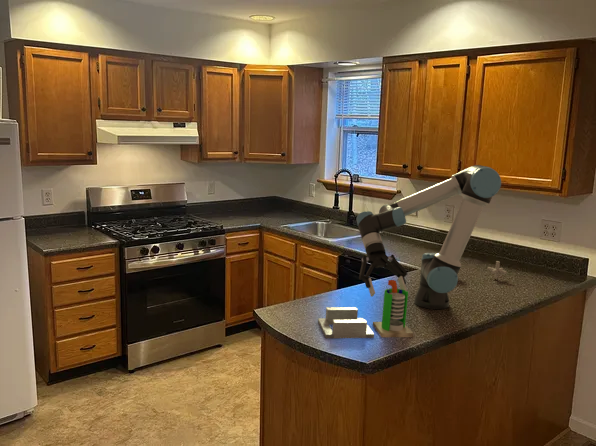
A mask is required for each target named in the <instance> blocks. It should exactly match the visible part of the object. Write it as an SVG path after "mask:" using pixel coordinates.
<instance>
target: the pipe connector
mask: <svg viewBox="0 0 596 446" xmlns="http://www.w3.org/2000/svg"><path fill="white" fill-rule="evenodd" d="M500 263H501V262H500V261H499V260H496V261H495V268H494V267H491V266H488V267H487V271H490V274H492V275H493V274H494V278H498V279H499V274H501V275H502V274H503V275H507V273H508V271H507V270H504V268H503V267H500V265H501V264H500ZM494 278H493V279H494Z"/></svg>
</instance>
